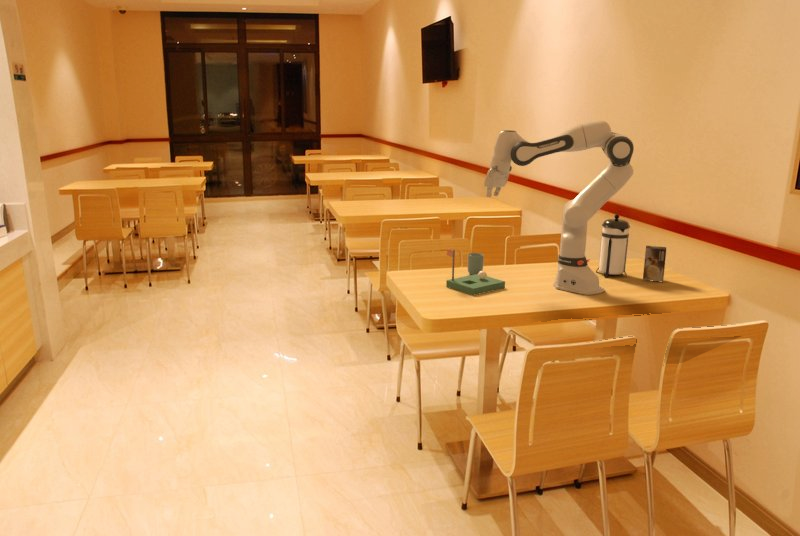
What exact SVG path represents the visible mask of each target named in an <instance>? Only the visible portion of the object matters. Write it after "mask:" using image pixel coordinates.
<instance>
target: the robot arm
mask: <svg viewBox="0 0 800 536" xmlns="http://www.w3.org/2000/svg"><path fill="white" fill-rule="evenodd" d="M634 146H635V145H634V143H633V141H632V140H631V139H630V138H629V137H628V136H627V135H624V134H620V133H617V132H613V131H612V128H611V126H610V124H609V123H608V122H607V121H605V120H598V121H597V120H596V121H589V122H585V123H579V124H577V125H574V126H571V127H569V128H567V129H565V130H564V131H562V132H561V133H560V134H558V135H556V136H554V137H552V138H549V139H546V140H541V141H537V142H530V141H528V140H526V139H525V138H523V137H522V136H520V135H519V133H518V132H517V131H516V130H509V129H508V130H507V129H506V130H505V129H503V130H501V131H499V133H498V134H497V136H496V138H495V142H494V147H493V153H492V156H491V158H490V163H489V165H488V166H489V167H488V168H489V169H488V171H487V173H486V176H485V179H484V183H483V185H484V187H485V188H486V197H487V198H492V195H493V196H495V197H499V194H500V191H501V189H502V188H503V187H506V185H507V183H508V180H509V178H510V173H511V172H512V171H513V170H512V169H513V167H512V165H511V163H512V162H513V163H514V164H515V165H517V166H520V167H525V166H528V165H530V164H531V163H532V162H534V161H535V160H536V159H538V158H541V157H546V156H549V155H552V154H556V153H565V152H566V153H572V152H573V153H575V152H581V151H586V150H589V149H593V148H601V149H602V152H603V153H604V155H605V156H606V157H607V158H608V159H609V162H608V164H607V166H606V167H605V168H604V169H603V170H602V171H601V172H599V173H598V175H597V176H595V177H594V179H592V180H591V181H590V182H589V183H588V184H587V185H586V186H585V187H584V188H583V189H582V190H581V191H580V192H579V193H578V195H577V196H576V197H575V198H574V199H571V200H569V201H567V202H566V203H565V205H563V209H562V220H561V231H560V245H559V246H560V247H559V254H558V259H557V263H558V266H557V271H556V272H557V273H556V277H555V279H554V282H553V286H554V287H555V289H556V290H561V291H566V292H570V293H574V294H575V293H576V294H580V295H586V296H590V295H592V296H593V295H597V294H601V293H603V292H604V291H605V288H604V287H603V286H600V279H599V276H598V275H597V273H595V272H594V270H592V269H591V268H590V267H589V265H588V263H590V260H591V259H587V256H586V248H587V247H586V246H587V235H588V222H589V221H590V219H592V218H593V217H594V216H595V215H596V213H598V211H600V209H601V208H602V207H603V206H604V205H605V204H606V203H607V202H608V201H609V200H611V199H612V197H614V196H615V195H616V194H617V193H618V192H619V191H620V190H621V189H622V188H623V187H624V186H625V185H626V184H627V183H628V182H629V180H630V179H631V178H632V177H633V176H634V175H633V174H634V169H633V166H632V164H631V163H630V162H631V160H632V157H633V154H634ZM493 188H494V191H493ZM492 191H493V194H492Z"/></svg>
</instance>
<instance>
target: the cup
mask: <svg viewBox="0 0 800 536" xmlns="http://www.w3.org/2000/svg"><path fill="white" fill-rule="evenodd" d="M484 256H485V255H484V253H480V252H470V253H468V254H467V265H466V266H467V272H468V274H469V275H474V274H478V273H479V272H480V271H484V262H485V261H484V260H485V259H484V258H485V257H484Z"/></svg>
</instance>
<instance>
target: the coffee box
mask: <svg viewBox="0 0 800 536" xmlns="http://www.w3.org/2000/svg"><path fill="white" fill-rule="evenodd" d="M666 256H667V247H666V246H655V245H645V253H644V263H643V275H642V281H643V280H653V281H663V282H664V279H665V277H664V276H665V268H666V267H665V266H666Z"/></svg>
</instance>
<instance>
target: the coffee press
mask: <svg viewBox="0 0 800 536" xmlns="http://www.w3.org/2000/svg"><path fill="white" fill-rule="evenodd" d="M601 227H602V230H601V238H600V240H601V241H600V251H599V261H598V262H599V263H598V268H597V269H596V270H595V272H596V273H597V272H598V270H599V272H601V273H602V274H604V278H606V277H607V278H610V277H609V276H610V275H621V276H622V277H623V278H625V277H627V276H628V274H627V272H626V263H627V254H628V246H629V245H628V244H629V237H630V233H629V232H630V229H631V225H630V223H629V221H627V220H624V219H621V218H620V215H619V214H615V215H614V218H608V219H605V220H604V221H603V223H602V224H601ZM623 273H624V274H623ZM624 276H625V277H624ZM607 278H606V279H607Z"/></svg>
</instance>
